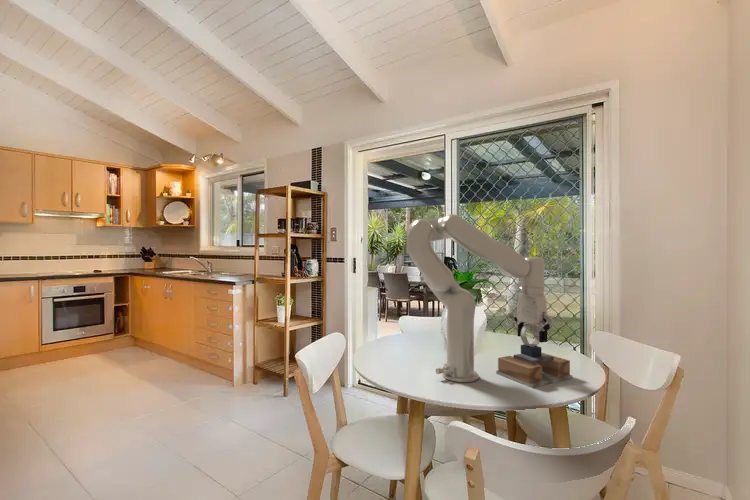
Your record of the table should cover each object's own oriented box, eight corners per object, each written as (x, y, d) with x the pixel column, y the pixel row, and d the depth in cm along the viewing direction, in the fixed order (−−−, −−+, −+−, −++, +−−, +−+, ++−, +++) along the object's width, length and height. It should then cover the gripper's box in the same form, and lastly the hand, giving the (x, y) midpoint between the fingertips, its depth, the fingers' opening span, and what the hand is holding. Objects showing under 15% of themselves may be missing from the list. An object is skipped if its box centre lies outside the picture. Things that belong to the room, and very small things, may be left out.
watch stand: (531, 387, 122) (531, 365, 122) (496, 373, 136) (496, 353, 136) (572, 378, 130) (572, 357, 131) (535, 365, 145) (535, 347, 145)
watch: (545, 355, 134) (545, 324, 134) (528, 357, 131) (528, 326, 131) (533, 351, 139) (533, 322, 139) (516, 353, 136) (516, 323, 136)
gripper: (506, 289, 140) (506, 334, 140) (545, 294, 124) (544, 345, 124) (521, 288, 143) (520, 333, 143) (560, 293, 127) (560, 343, 127)
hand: (531, 338), depth 133 cm, fingers open, 9 cm apart
